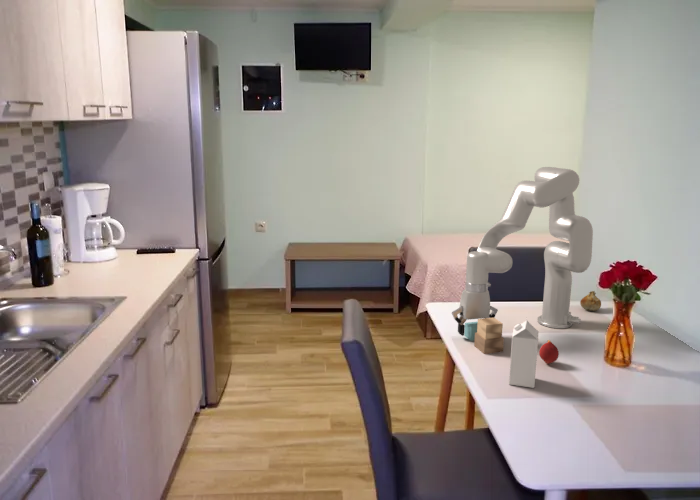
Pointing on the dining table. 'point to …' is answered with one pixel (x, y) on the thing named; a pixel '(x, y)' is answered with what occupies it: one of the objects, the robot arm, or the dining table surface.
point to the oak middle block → (489, 328)
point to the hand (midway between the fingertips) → (473, 333)
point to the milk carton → (523, 355)
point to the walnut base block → (488, 344)
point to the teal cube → (470, 330)
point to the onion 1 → (549, 352)
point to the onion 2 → (590, 302)
